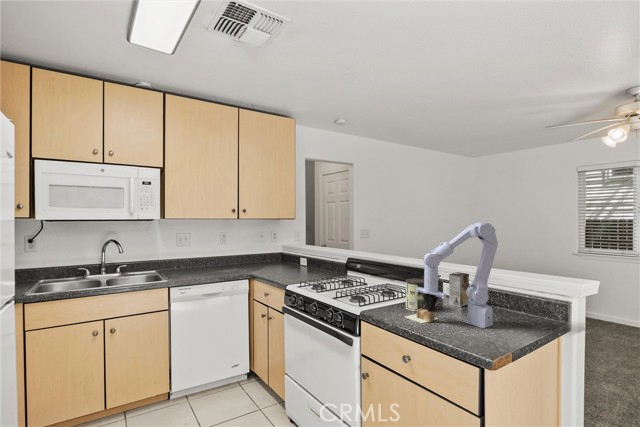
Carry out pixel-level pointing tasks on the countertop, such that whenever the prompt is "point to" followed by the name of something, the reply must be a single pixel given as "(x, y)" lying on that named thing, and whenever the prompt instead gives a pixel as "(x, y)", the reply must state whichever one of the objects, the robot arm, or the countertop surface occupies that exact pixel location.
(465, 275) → the coffee box
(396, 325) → the countertop surface
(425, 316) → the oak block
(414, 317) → the felt mat
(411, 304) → the coffee can
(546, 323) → the countertop surface
